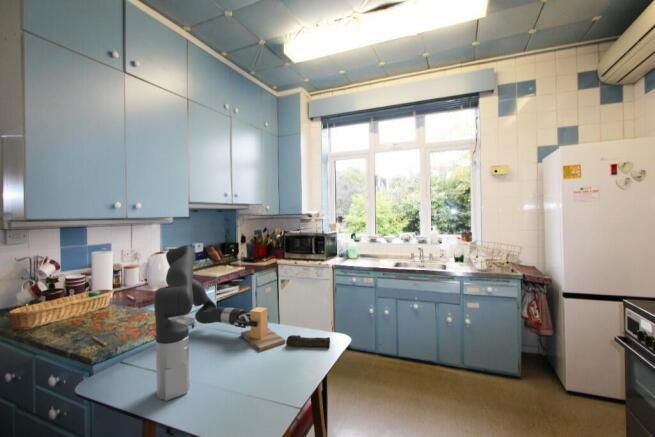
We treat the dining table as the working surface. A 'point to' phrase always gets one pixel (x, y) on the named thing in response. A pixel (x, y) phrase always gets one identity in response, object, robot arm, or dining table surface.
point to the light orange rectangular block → (259, 322)
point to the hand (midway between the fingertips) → (262, 320)
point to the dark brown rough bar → (307, 341)
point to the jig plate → (264, 340)
